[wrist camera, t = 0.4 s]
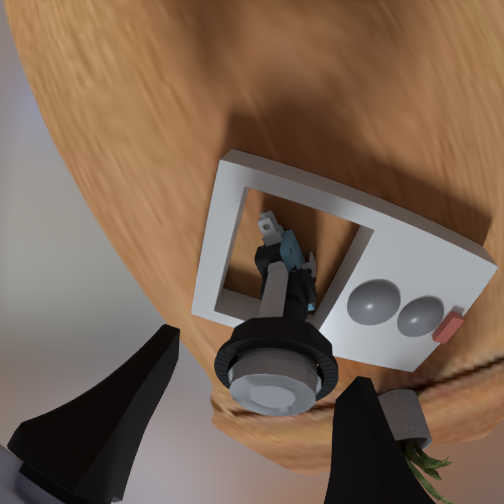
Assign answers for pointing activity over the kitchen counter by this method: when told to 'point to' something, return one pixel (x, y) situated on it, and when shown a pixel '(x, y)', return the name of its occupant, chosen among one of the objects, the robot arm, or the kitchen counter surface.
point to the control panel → (351, 266)
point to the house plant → (411, 434)
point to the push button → (279, 335)
